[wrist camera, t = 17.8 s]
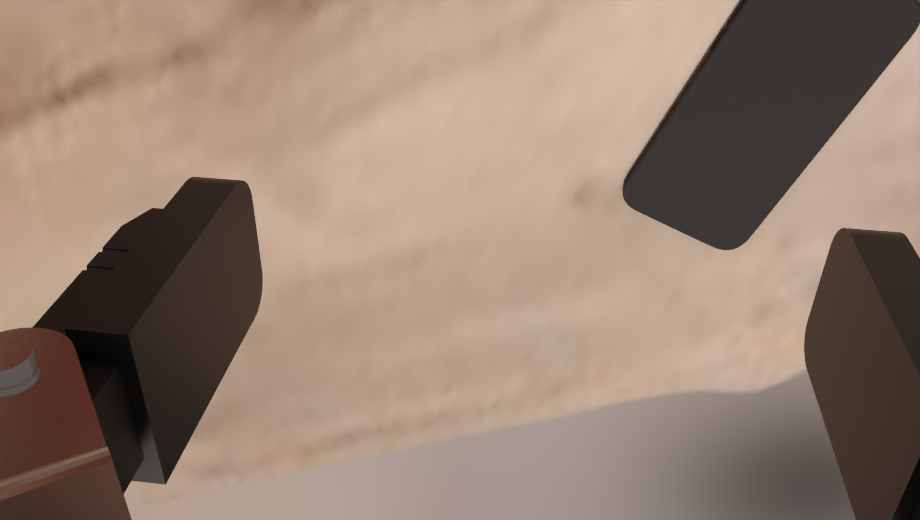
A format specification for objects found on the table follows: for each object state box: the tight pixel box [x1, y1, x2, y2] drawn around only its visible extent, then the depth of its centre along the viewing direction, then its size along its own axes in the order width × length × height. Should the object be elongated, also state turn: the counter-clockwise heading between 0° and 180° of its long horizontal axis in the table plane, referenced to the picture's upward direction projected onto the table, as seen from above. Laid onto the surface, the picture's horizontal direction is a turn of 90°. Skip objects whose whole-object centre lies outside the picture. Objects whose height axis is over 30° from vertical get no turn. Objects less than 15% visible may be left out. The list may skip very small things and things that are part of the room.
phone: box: [623, 0, 920, 250], centre depth 41 cm, size 7×1×15 cm
